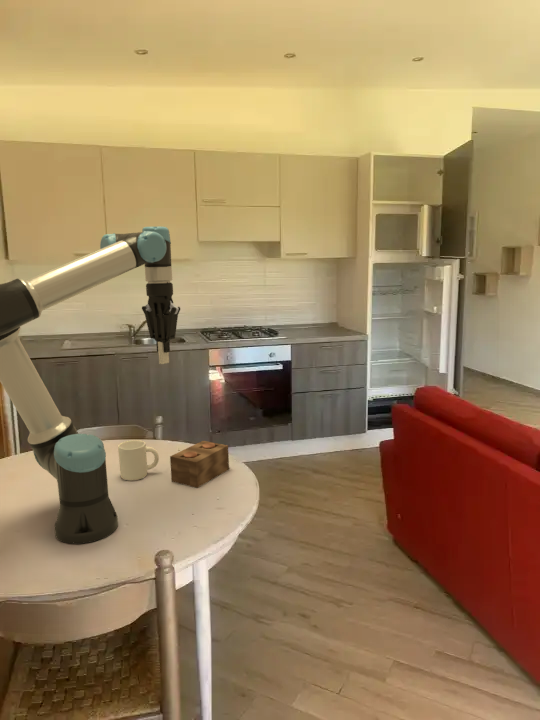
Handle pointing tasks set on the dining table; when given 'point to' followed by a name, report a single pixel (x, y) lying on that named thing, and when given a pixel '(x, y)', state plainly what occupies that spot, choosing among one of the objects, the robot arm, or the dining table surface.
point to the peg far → (208, 446)
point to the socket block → (199, 464)
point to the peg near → (190, 455)
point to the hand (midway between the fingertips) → (164, 363)
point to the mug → (135, 459)
